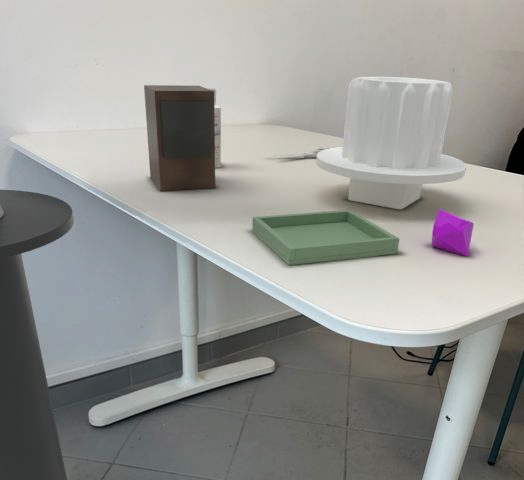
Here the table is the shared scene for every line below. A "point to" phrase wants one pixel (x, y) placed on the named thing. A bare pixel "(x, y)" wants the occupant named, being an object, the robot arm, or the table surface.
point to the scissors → (310, 154)
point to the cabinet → (180, 136)
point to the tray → (323, 236)
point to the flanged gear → (393, 140)
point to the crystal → (452, 233)
